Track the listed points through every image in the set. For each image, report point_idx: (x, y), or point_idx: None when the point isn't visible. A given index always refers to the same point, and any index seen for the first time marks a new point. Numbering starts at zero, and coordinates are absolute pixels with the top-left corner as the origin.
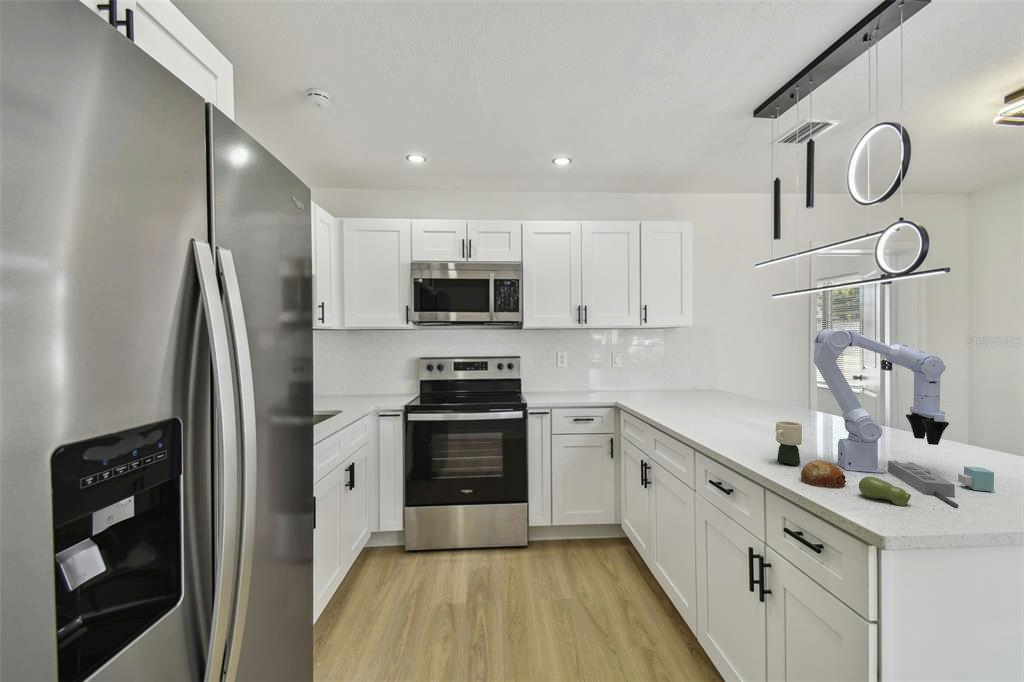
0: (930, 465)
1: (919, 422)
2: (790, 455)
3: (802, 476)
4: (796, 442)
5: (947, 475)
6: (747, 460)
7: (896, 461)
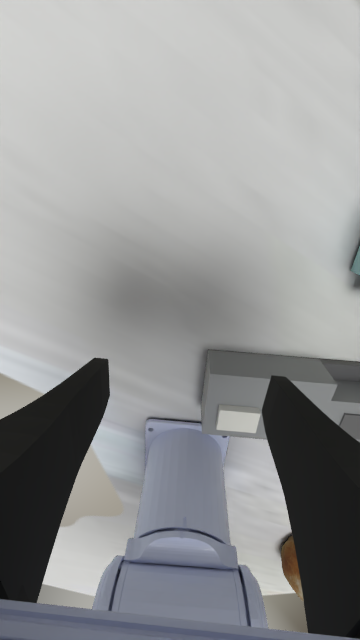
0: (58, 219)
1: (53, 488)
2: None
3: None
4: None
5: (211, 242)
6: None
7: (229, 429)
